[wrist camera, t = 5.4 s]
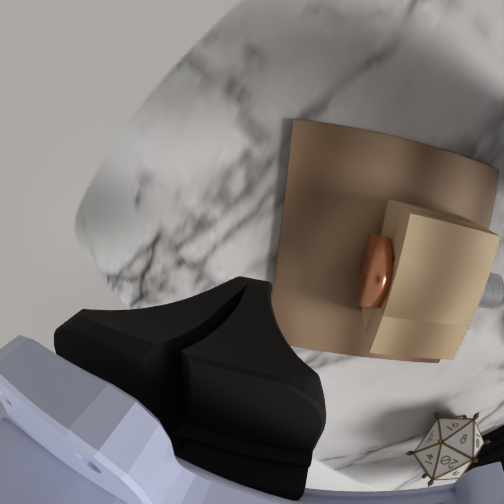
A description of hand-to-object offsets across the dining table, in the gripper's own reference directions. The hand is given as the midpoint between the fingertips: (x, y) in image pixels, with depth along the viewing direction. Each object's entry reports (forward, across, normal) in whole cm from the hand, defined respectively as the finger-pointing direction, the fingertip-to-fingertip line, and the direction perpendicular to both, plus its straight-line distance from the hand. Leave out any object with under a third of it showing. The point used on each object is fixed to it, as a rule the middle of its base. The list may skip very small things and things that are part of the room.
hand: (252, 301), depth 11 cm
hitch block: (+9, -7, 0) cm, 11 cm away
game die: (+9, -21, +17) cm, 28 cm away
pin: (+8, -10, 0) cm, 13 cm away
